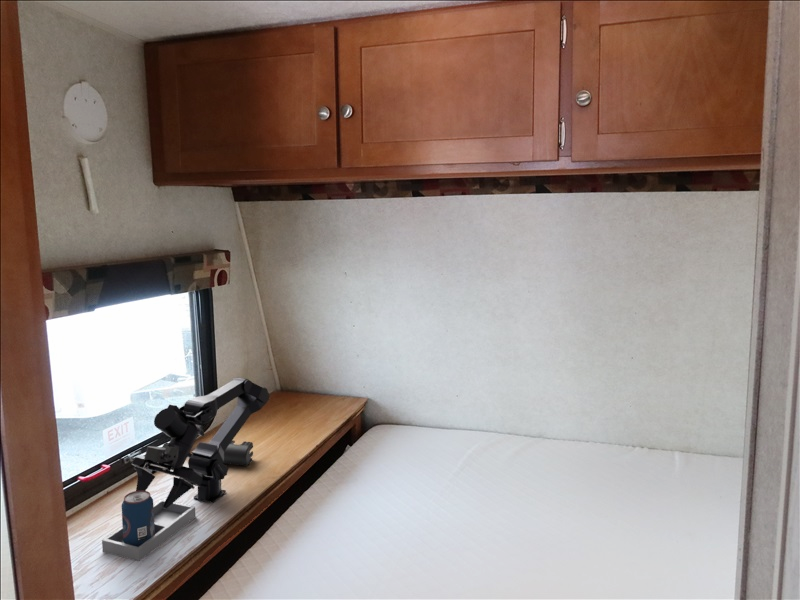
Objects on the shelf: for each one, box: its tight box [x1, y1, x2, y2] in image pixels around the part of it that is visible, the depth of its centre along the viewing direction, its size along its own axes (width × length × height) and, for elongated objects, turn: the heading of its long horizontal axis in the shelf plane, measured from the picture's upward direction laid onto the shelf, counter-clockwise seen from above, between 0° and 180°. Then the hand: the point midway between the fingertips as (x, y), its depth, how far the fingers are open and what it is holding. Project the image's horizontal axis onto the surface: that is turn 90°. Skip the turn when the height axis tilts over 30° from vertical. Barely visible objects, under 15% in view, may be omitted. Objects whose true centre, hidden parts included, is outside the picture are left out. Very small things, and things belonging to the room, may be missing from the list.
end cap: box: [223, 440, 254, 467], centre depth 185 cm, size 10×7×7 cm
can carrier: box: [101, 499, 197, 562], centre depth 146 cm, size 20×11×3 cm, turn 162°
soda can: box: [121, 490, 155, 547], centre depth 140 cm, size 7×7×12 cm
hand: (150, 503), depth 144 cm, fingers open, 9 cm apart
